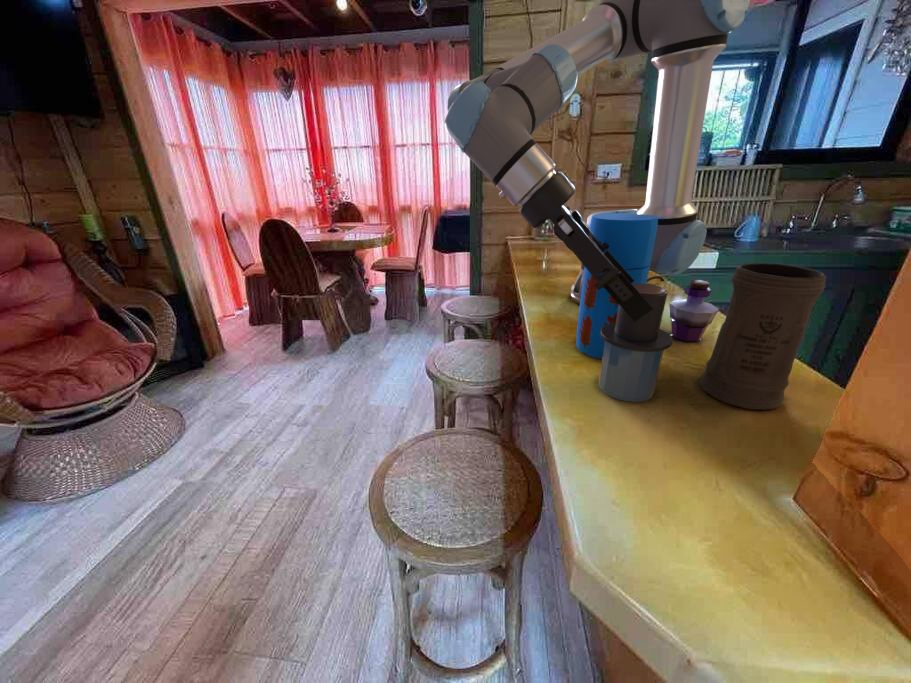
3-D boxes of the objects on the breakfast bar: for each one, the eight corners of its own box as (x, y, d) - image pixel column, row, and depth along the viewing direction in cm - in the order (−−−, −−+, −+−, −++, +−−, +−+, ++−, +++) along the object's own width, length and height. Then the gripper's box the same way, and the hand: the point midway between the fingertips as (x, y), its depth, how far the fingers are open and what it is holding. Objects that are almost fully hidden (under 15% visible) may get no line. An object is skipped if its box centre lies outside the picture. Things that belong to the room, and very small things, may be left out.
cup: (608, 370, 66) (616, 323, 62) (658, 385, 61) (670, 335, 58) (591, 390, 60) (598, 340, 57) (645, 408, 56) (657, 354, 52)
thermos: (638, 362, 69) (667, 220, 58) (577, 357, 71) (595, 220, 60) (626, 338, 78) (649, 213, 68) (573, 335, 81) (587, 213, 70)
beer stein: (797, 419, 52) (851, 277, 45) (708, 405, 56) (746, 271, 49) (757, 374, 66) (794, 259, 59) (687, 365, 69) (715, 256, 62)
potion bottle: (708, 333, 80) (724, 278, 75) (711, 349, 73) (728, 289, 68) (663, 326, 84) (675, 274, 79) (661, 341, 77) (674, 284, 72)
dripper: (610, 331, 64) (619, 275, 60) (675, 346, 59) (690, 285, 55) (588, 352, 57) (597, 290, 53) (660, 371, 52) (675, 303, 48)
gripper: (523, 202, 65) (603, 290, 67) (506, 220, 43) (625, 349, 45) (558, 168, 61) (640, 262, 64) (558, 167, 39) (683, 311, 42)
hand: (634, 298), depth 55 cm, fingers open, 13 cm apart
